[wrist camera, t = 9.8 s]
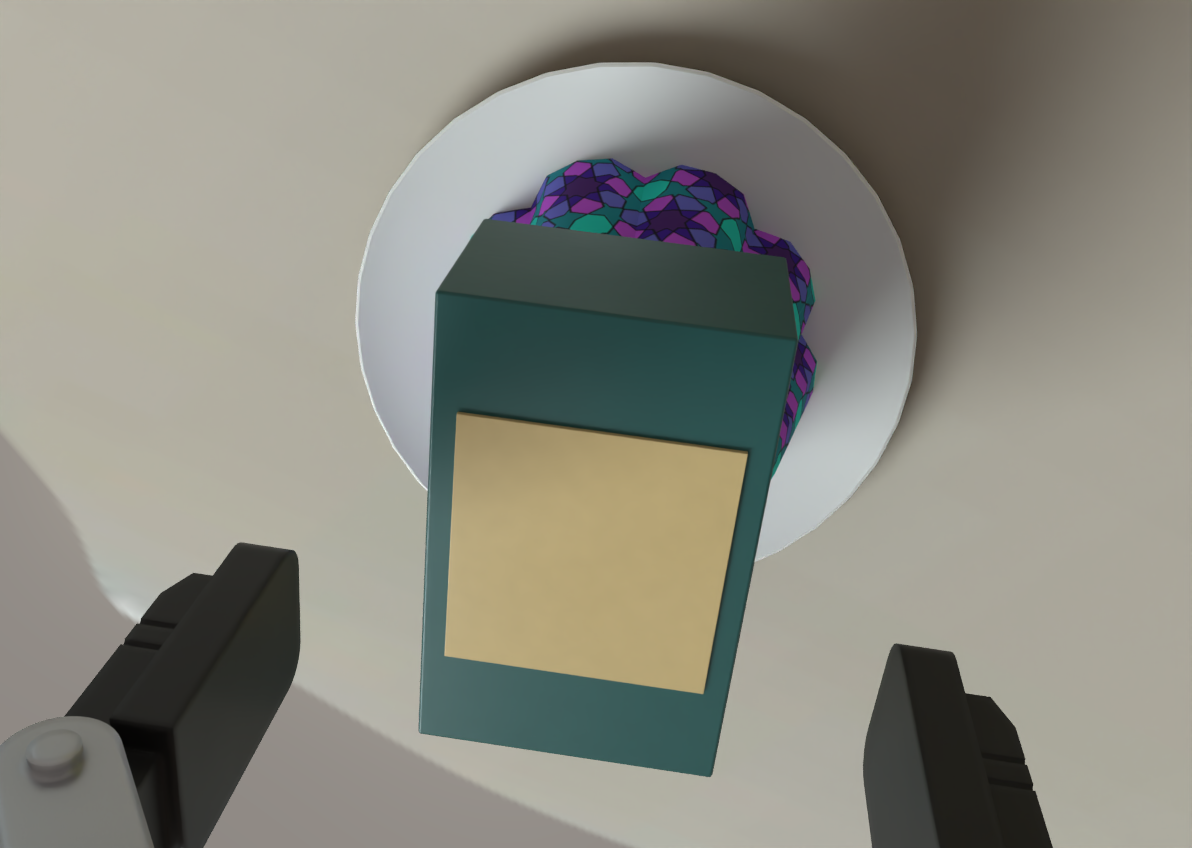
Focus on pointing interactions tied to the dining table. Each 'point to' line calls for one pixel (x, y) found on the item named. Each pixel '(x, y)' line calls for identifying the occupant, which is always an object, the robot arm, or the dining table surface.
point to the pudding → (668, 214)
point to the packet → (597, 489)
